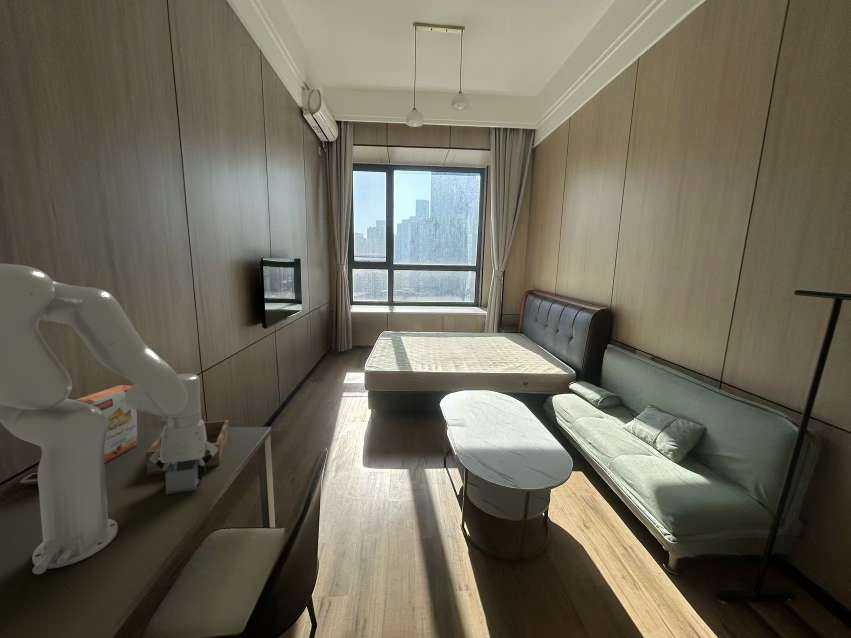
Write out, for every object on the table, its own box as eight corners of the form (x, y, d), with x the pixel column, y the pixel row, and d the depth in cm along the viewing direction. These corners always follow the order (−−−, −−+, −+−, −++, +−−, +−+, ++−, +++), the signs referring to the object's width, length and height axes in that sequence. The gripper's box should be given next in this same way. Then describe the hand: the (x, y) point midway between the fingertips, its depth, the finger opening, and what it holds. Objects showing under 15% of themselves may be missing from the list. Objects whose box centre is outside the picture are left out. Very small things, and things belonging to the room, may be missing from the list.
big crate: (219, 465, 102) (219, 444, 101) (147, 475, 95) (146, 452, 94) (228, 438, 119) (228, 419, 118) (168, 445, 112) (167, 425, 111)
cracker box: (97, 469, 96) (93, 400, 94) (77, 467, 96) (72, 399, 94) (139, 445, 110) (137, 385, 108) (121, 444, 110) (119, 384, 108)
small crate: (195, 490, 90) (195, 469, 89) (166, 494, 88) (165, 473, 87) (203, 471, 98) (203, 453, 98) (176, 475, 96) (176, 456, 95)
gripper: (139, 428, 84) (141, 493, 86) (218, 421, 91) (218, 481, 93) (150, 416, 91) (152, 476, 93) (223, 410, 97) (223, 467, 100)
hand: (185, 478), depth 93 cm, fingers closed on small crate, 6 cm apart
